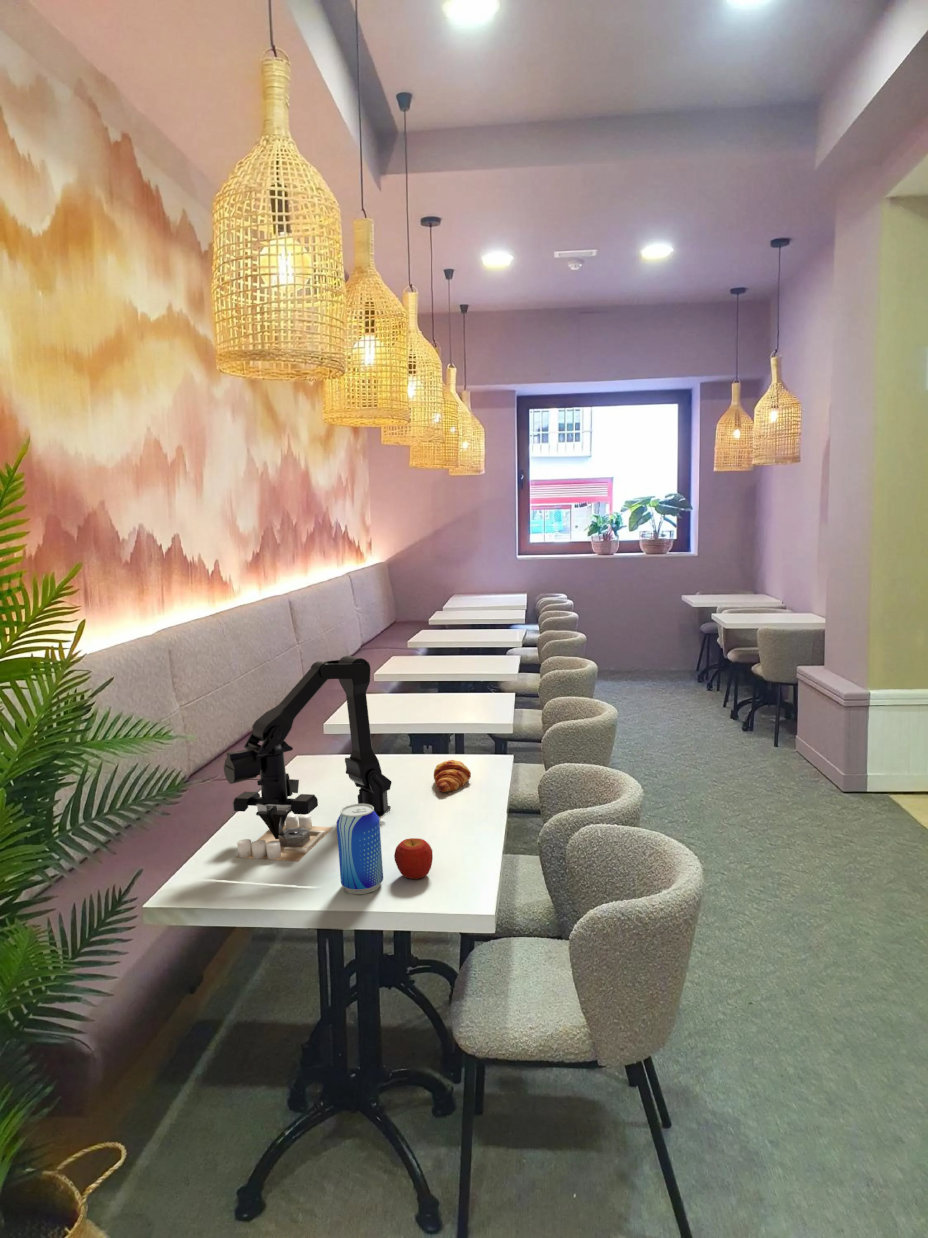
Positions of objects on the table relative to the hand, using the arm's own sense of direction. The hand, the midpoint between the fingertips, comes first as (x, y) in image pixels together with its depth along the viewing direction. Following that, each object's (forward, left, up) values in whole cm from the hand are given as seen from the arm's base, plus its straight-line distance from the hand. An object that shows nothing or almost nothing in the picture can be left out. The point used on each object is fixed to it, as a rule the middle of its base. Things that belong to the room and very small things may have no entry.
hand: (278, 838), depth 188 cm
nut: (-4, 0, -1) cm, 4 cm away
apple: (-37, +12, -1) cm, 39 cm away
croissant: (-30, -45, -2) cm, 54 cm away
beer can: (-28, +18, -1) cm, 33 cm away
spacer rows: (0, 0, -1) cm, 1 cm away
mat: (-2, 0, -1) cm, 2 cm away
